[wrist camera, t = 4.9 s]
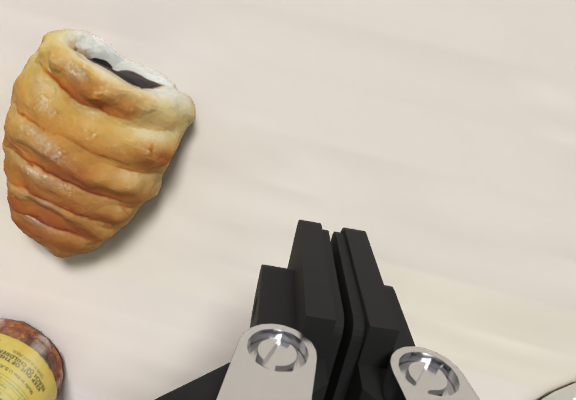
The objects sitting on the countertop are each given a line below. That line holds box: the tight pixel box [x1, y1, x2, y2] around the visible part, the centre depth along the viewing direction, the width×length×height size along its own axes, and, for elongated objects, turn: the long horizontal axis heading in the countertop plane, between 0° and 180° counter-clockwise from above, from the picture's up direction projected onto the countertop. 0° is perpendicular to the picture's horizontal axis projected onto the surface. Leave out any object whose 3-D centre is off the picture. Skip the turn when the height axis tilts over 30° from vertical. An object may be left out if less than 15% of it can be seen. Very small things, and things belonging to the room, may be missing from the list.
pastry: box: [2, 29, 195, 257], centre depth 19 cm, size 9×7×4 cm
